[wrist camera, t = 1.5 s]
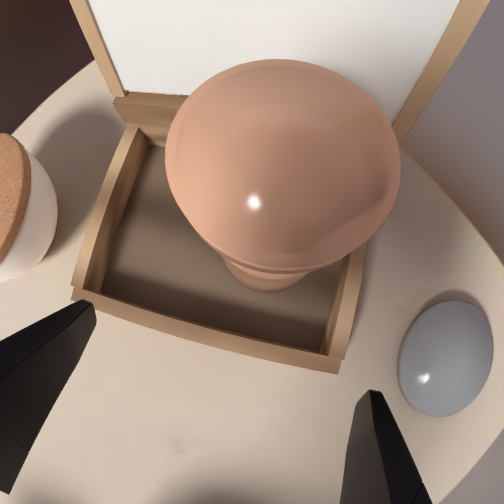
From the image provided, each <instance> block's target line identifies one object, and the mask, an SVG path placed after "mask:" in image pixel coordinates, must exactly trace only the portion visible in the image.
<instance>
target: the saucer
mask: <svg viewBox="0 0 504 504" xmlns="http://www.w3.org/2000/svg"><path fill="white" fill-rule="evenodd" d="M493 351H494V348H493V337H492V332H491V329H490V326H489V324H488V322H487V320H486V318H485V317H484V315H483V314H482V313H481V312H480V310H479V309H477V308H476V307H475V306H473V305H471V304H470V303H467V302H464V301H446V302H441V303H438V304H435V305H433V306H431V307H429V308H427V309H426V310H425V311H423V312H422V313H421V314H420V315H419V316H418V317H417V318H416V319H415V320H414V322H413V323H412V324H411V326H410V327H409V329H408V330H407V332H406V334H405V336H404V339H403V341H402V344H401V347H400V350H399V355H398V362H397V376H398V382H399V386H400V389H401V391H402V394H403V396H404V397H405V399H406V400H407V402H408V403H409V404H410V405H411V406H412V407H414V408H415V409H417V410H419V411H420V412H422V413H424V414H426V415H429V416H433V417H445V416H450V415H452V414H455V413H457V412H459V411H461V410H462V409H464V408H465V407H467V406H468V405H469V404H470V403H471V402H472V401H473V400H474V399H475V398H476V397H477V395H478V394H479V393H480V391H481V390H482V388H483V386H484V385H485V383H486V381H487V378H488V376H489V373H490V370H491V366H492V361H493Z"/></svg>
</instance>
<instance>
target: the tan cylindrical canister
mask: <svg viewBox="0 0 504 504" xmlns="http://www.w3.org/2000/svg"><path fill="white" fill-rule="evenodd" d="M165 166H166V174H167V179H168V182H169V186H170V189H171V191H172V194H173V196H174V198H175V200H176V202H177V204H178V206H179V207H180V209H181V210H182V212H183V213H184V215H185V216H186V218H187V219H188V221H189V222H190V224H191V225H192V226H193V228H194V229H195V231H196V232H197V233H198V235H199V236H200V237H201V238H202V239H203V240H204V241H205V242H206V243H207V244H208V245H209V246H210V247H211V248H212V249H214V250H215V251H216V252H217V253H219V254H220V256H221V257H222V259H223V261H224V262H225V264H226V266H227V268H228V269H229V271H230V272H231V274H232V275H233V277H234V278H235V279H236V280H237V281H238V282H239V283H240V284H242V285H243V286H245V287H246V288H248V289H251V290H253V291H256V292H261V293H276V292H280V291H283V290H286V289H288V288H290V287H292V286H293V285H295V284H296V283H297V282H298V281H300V280H301V279H302V278H303V277H305V276H306V275H307V274H308V273H310V272H311V271H314V270H318V269H320V268H323V267H325V266H328V265H330V264H332V263H334V262H336V261H338V260H339V259H341V258H343V257H344V256H346V255H347V254H349V253H350V252H352V251H353V250H354V249H356V248H357V247H359V246H360V245H361V244H363V243H364V242H365V241H366V240H368V239H369V238H370V237H371V236H372V235H373V234H374V233H375V232H376V231H377V230H378V229H379V228H380V227H381V226H382V224H383V223H384V221H385V220H386V218H387V217H388V216H389V214H390V212H391V210H392V208H393V206H394V204H395V202H396V198H397V195H398V192H399V188H400V181H401V157H400V150H399V146H398V143H397V139H396V136H395V134H394V131H393V129H392V127H391V125H390V123H389V121H388V120H387V118H386V116H385V115H384V113H383V112H382V110H381V109H380V108H379V106H378V105H377V104H376V103H375V101H374V100H373V99H372V98H371V97H370V96H369V95H368V94H367V93H366V92H365V91H363V90H362V89H361V88H360V87H358V86H357V85H356V84H355V83H353V82H351V81H350V80H348V79H347V78H345V77H344V76H342V75H340V74H338V73H336V72H334V71H332V70H329V69H327V68H324V67H322V66H319V65H315V64H312V63H308V62H303V61H297V60H289V59H265V60H258V61H251V62H247V63H243V64H239V65H237V66H234V67H231V68H229V69H226V70H224V71H222V72H220V73H218V74H216V75H214V76H213V77H211V78H210V79H208V80H207V81H205V82H204V83H203V84H201V85H200V86H199V87H198V88H197V89H196V90H194V91H193V92H192V94H191V95H190V96H189V97H188V98H187V99H186V100H185V102H184V103H183V104H182V106H181V107H180V109H179V110H178V112H177V114H176V116H175V118H174V120H173V122H172V124H171V127H170V130H169V133H168V136H167V142H166V147H165Z"/></svg>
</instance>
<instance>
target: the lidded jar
mask: <svg viewBox="0 0 504 504" xmlns="http://www.w3.org/2000/svg"><path fill="white" fill-rule="evenodd" d="M57 219H58V206H57V197H56V193H55V189H54V187H53V184H52V182H51V179H50V177H49V176H48V174H47V173H46V171H45V169H44V168H43V166H42V165H41V164H40V163H39V162H38V160H37V159H36V158H35V157H34V156H33V155H32V154H30V153H29V152H28V151H27V150H26V149H25V148H24V146H23V145H22V144H21V143H20V142H19V141H18V140H17V139H15V138H14V137H13V136H11V135H9V134H5V133H0V283H1V282H7V281H12V280H15V279H17V278H19V277H21V276H24V275H25V274H27V273H28V272H30V271H31V270H32V269H33V268H34V267H35V266H36V265H37V264H38V263H39V262H40V261H41V260H42V258H43V257H44V256H45V254H46V252H47V251H48V249H49V248H50V246H51V244H52V242H53V239H54V236H55V232H56V226H57Z"/></svg>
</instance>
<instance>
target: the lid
mask: <svg viewBox="0 0 504 504" xmlns="http://www.w3.org/2000/svg"><path fill="white" fill-rule="evenodd" d="M69 1H70V3H71V5H72V8H73V10H74V13H75V15H76V17H77V20H78V22H79V24H80V26H81V29H82V31H83V33H84V36H85V38H86V40H87V42H88V44H89V47H90V49H91V51H92V53H93V55H94V58H95V60H96V62H97V64H98V66H99V68H100V71H101V73H102V75H103V77H104V79H105V81H106V83H107V85H108V87H109V90H110V92H111V94H112V96H113V97H125V96H126V95H127V93H128V91H129V90H132V91H148V92H161V93H172V94H182V95H191V94H192V92H193V91H194V90H196V89H197V88H198V87H199V86H200V85H201V84H203V83H204V82H205V81H207V80H208V79H210V78H211V77H213V76H214V75H216V74H218V73H220V72H222V71H224V70H226V69H229V68H231V67H234V66H237V65H239V64H243V63H247V62H251V61H258V60H265V59H289V60H297V61H303V62H308V63H312V64H315V65H319V66H322V67H324V68H327V69H329V70H332V71H334V72H336V73H338V74H340V75H342V76H344V77H345V78H347V79H348V80H350V81H351V82H353V83H355V84H356V85H357V86H358V87H360V88H361V89H362V90H363V91H365V92H366V93H367V94H368V95H369V96H370V97H371V98H372V99H373V100H374V101H375V103H376V104H377V105H378V106H379V108H380V109H381V110H382V112H383V113H384V115H385V116H386V118H387V120H388V121H389V123H390V125H391V127H392V129H393V131H394V134H395V136H396V139H397V143H398V146H400V144H401V143H402V141H403V140H404V138H405V137H406V135H407V134H408V133H409V131H410V130H411V128H412V127H413V125H414V124H415V122H416V121H417V119H418V118H419V116H420V114H421V113H422V112H423V110H424V109H425V107H426V105H427V104H428V102H429V101H430V99H431V98H432V96H433V94H434V93H435V92H436V90H437V88H438V87H439V85H440V84H441V82H442V80H443V79H444V77H445V76H446V74H447V73H448V71H449V69H450V68H451V66H452V64H453V63H454V61H455V59H456V58H457V56H458V55H459V53H460V51H461V49H462V48H463V46H464V45H465V43H466V41H467V40H468V38H469V36H470V34H471V33H472V31H473V29H474V28H475V26H476V24H477V22H478V21H479V19H480V17H481V15H482V13H483V12H484V10H485V8H486V6H487V4H488V3H489V1H490V0H69Z"/></svg>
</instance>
